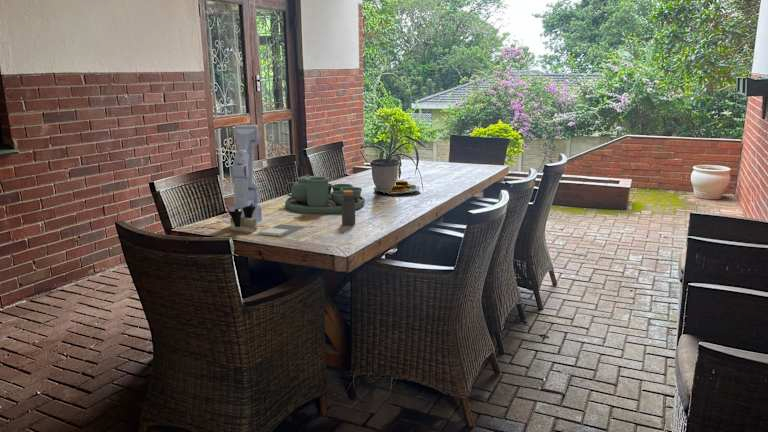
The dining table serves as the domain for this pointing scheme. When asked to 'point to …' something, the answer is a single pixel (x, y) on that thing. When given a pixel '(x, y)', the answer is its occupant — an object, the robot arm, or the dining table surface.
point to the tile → (274, 232)
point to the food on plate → (403, 187)
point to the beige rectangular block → (245, 225)
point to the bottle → (348, 208)
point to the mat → (287, 227)
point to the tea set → (319, 195)
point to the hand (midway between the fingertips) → (243, 224)
